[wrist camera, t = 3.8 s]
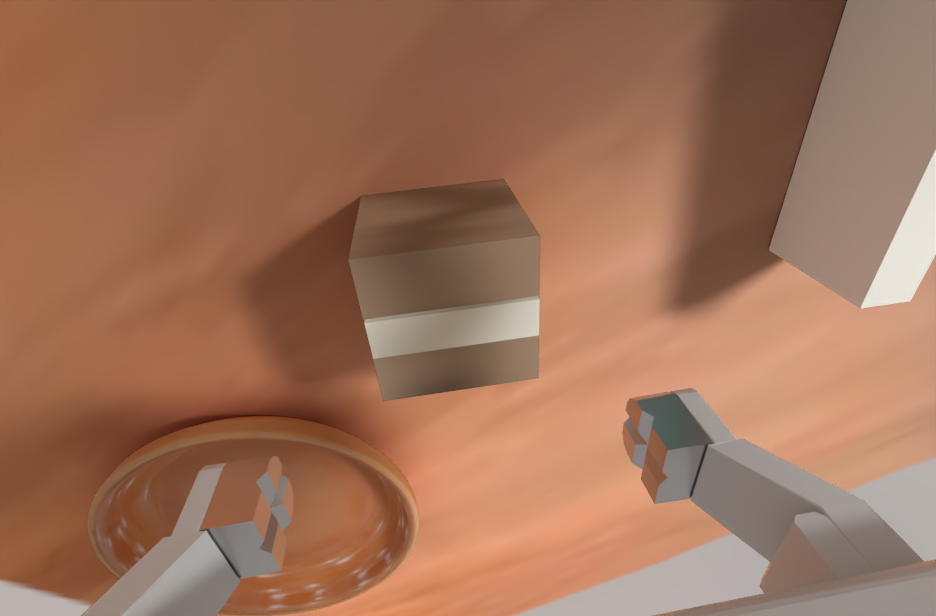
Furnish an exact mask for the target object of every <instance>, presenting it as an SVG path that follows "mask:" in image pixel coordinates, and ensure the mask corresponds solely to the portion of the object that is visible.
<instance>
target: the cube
mask: <svg viewBox="0 0 936 616" xmlns="http://www.w3.org/2000/svg"><path fill="white" fill-rule="evenodd" d="M348 261H349V265H350V269H351V273H352V277H353V281H354V285H355V289H356V293H357V297H358V301H359V305H360V309H361V313H362V317H363V321H364V325H365V329H366V333H367V338H368V342H369V346H370V350H371V354H372V358H373V362H374V366H375V370H376V374H377V378H378V382H379V386H380V390H381V394H382V398H383V401H388V400H394V399H401V398H408V397H415V396H421V395H428V394H435V393H442V392H448V391H455V390H462V389H469V388H475V387H482V386H489V385H496V384H503V383H509V382H516V381H523V380H530V379H536V378H538V376H539V280H540V235H539V233H538V232H537V230H536V229H535V227H534V226H533V224H532V222H531V221H530V219H529V218H528V216H527V215H526V213H525V212H524V210H523V208H522V207H521V205H520V204H519V202H518V201H517V199H516V198H515V196H514V194H513V193H512V191H511V190H510V188H509V187H508V185H507V184H506V182H505V180H504V179H500V180H492V181H483V182H475V183H466V184H458V185H449V186H441V187H432V188H424V189H415V190H407V191H398V192H390V193H381V194H373V195H364V196H361V199H360V204H359V209H358V214H357V219H356V224H355V229H354V234H353V239H352V244H351V249H350V254H349V258H348Z"/></svg>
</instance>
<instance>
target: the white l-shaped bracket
mask: <svg viewBox="0 0 936 616" xmlns="http://www.w3.org/2000/svg"><path fill="white" fill-rule="evenodd" d="M769 251H771V252H772V253H774V254H776V255H777V256H779V257H780V258H782V259H783V260H785V261H787V262H788V263H790V264H791V265H793V266H794V267H796V268H798V269H799V270H801V271H802V272H804V273H805V274H807V275H809V276H810V277H812V278H813V279H815V280H816V281H818V282H820V283H821V284H823V285H824V286H826V287H827V288H829V289H831V290H832V291H834V292H835V293H837V294H838V295H840V296H842V297H843V298H845V299H846V300H848V301H849V302H851V303H853V304H854V305H856V306H857V307H859V308H866V307H873V306H880V305H887V304H894V303H901V302H908V301H911V299H912V297H913V295H914V293H915V292H916V290H917V288H918V286H919V284H920V282H921V280H922V279H923V277H924V275H925V273H926V271H927V269H928V268H929V266H930V264H931V262H932V260H933V258H934V256H935V255H936V0H847V3H846V6H845V9H844V12H843V16H842V19H841V22H840V25H839V28H838V31H837V35H836V38H835V41H834V44H833V47H832V50H831V54H830V57H829V60H828V63H827V66H826V69H825V73H824V76H823V79H822V82H821V85H820V88H819V92H818V95H817V98H816V101H815V104H814V108H813V111H812V114H811V117H810V120H809V123H808V127H807V130H806V133H805V136H804V139H803V142H802V146H801V149H800V152H799V155H798V158H797V161H796V165H795V168H794V171H793V174H792V177H791V180H790V184H789V187H788V190H787V193H786V196H785V200H784V203H783V206H782V209H781V212H780V215H779V219H778V222H777V225H776V228H775V231H774V234H773V238H772V241H771V244H770V247H769Z"/></svg>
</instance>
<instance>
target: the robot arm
mask: <svg viewBox="0 0 936 616" xmlns="http://www.w3.org/2000/svg"><path fill="white" fill-rule="evenodd" d="M626 412H627V413H628V415H629V418H628V420H627V421H626V422H625V423H624V425H623V440H624V445H625V448H626V451H627V454H628V456H629V458H630V459H631V461H632V463H633V464H635V465H636V466H638V467H640V468H641V469H643V471H642V476H641V480H642V482H643V484H644V485H645V487H646V489H647V491H648V493H649V494H650V496H651V498H652V500H653V502H654V504H657V503H664V502H671V501H677V500H684V499H691V501H692V502H693V503H695V504H696V505H697V506H699V507H700V508H701V509H702V510H704V511H705V512H706V513H708V514H709V515H710V516H711V517H713V518H714V519H715V520H717V521H718V522H719V523H721V524H722V525H723V526H724V527H726V528H727V529H728V530H730V531H731V532H732V533H733V534H735V535H736V536H737V537H739V538H740V539H741V540H743V541H744V542H745V543H746V544H748V545H749V546H750V547H752V548H753V549H754V550H755V551H757V552H758V553H759V554H761V555H762V556H763V557H764V558H766V559H767V560H768V561H770V564H769V566H768V568H767V570H766V572H765V574H764V576H763V578H762V580H761V583H760V588H761V589H762V591H763V592H764V594H759V595H754V596H750V597H744V598H739V599H734V600H729V601H724V602H719V603H714V604H709V605H704V606H699V607H693V608H689V609H683V610H678V611H673V612H668V613H663V614H658V615H653V616H936V560H931V561H926V562H924V561H923V560H922V559H921V558H920V557H919V556H918V555H917V554H916V553H915V552H914V551H913V550H912V549H911V548H910V547H909V546H908V545H907V543H906V542H905V541H903V539H902V538H901V537H900V536H899V535H898V534H897V533H895V531H894V530H893V529H892V528H891V527H890V526H889V525H888V524H887V523H886V522H885V521H884V520H883V519H882V518H881V517H880V516H879V515H878V514H877V513H876V512H875V511H874V510H873V509H872V508H871V507H870V506H869V505H868V504H867V503H866V502H865V501H864V500H862V499H860V498H858V497H856V496H854V495H852V494H850V493H849V492H847V491H845V490H843V489H841V488H839V487H837V486H835V485H833V484H831V483H829V482H827V481H825V480H823V479H821V478H819V477H817V476H815V475H813V474H811V473H809V472H807V471H805V470H804V469H802V468H800V467H798V466H796V465H794V464H792V463H790V462H788V461H786V460H784V459H782V458H780V457H778V456H776V455H774V454H772V453H770V452H768V451H766V450H764V449H762V448H760V447H759V446H757V445H755V444H753V443H751V442H749V441H747V440H745V439H739V440H737V439H736V438H735V436H734V435H733V434H732V433H731V432H730V430H729V429H728V428H727V427H726V426H725V424H724V423H723V422H722V421H721V420H720V418H719V417H718V416H717V415H716V414H715V412H714V411H713V410H712V409H711V408H710V406H709V405H708V404H707V403H706V402H705V400H704V399H703V398H702V397H701V396H700V394H699V393H698V392H697V391H696V390H694V389H692V388H689V389H683V390H677V391H671V392H664V393H658V394H652V395H646V396H641V397H635V398H630V399H629V400H628V402H627V406H626ZM281 470H282V464H281V462H280V460H279V458H278V456H270V457H262V458H255V459H247V460H240V461H233V462H227V463H220V464H213V465H206V466H204V467H203V468H202V469H201V470H200V471H199V473H198V475H197V477H196V480H195V482H194V484H193V487H192V489H191V491H190V493H189V496H188V498H187V500H186V503H185V505H184V507H183V510H182V512H181V514H180V516H179V519H178V521H177V523H176V526H175V528H174V530H173V533H172V535H171V536H169V537H164V538H163V539H162V540H160V541H159V542H158V543H157V544H156V545H155V546H154V547H153V548H152V549H151V550H150V551H149V552H148V553H147V554H146V555H145V556H144V557H143V558H141V559H140V560H139V561H138V562H137V563H136V564H135V565H134V566H133V567H132V568H131V569H130V570H129V571H128V572H127V573H126V574H125V575H124V576H122V577H121V578H120V579H119V580H118V581H117V582H116V583H115V584H114V585H113V586H112V587H111V588H110V589H109V590H108V591H107V592H106V593H104V594H103V595H102V596H101V597H100V598H99V599H98V600H97V601H96V602H95V603H94V604H93V605H92V606H91V607H90V608H89V609H88V610H87V611H85V612H84V613H83V614H82V615H81V616H216V615H217V614H218V613H219V611H220V610H221V608H222V607H223V606H224V604H225V603H226V601H227V600H228V599H229V597H230V596H231V594H232V593H233V592H234V590H235V589H236V587H237V586H238V585H239V583H240V579H244V578H248V577H253V576H258V575H263V574H268V573H272V572H277V571H281V569H282V564H283V559H284V554H285V550H286V545H287V539H286V537H285V535H284V533H283V530H284V529H285V528H286V527H287V526H288V524H289V523H290V522H291V520H292V515H293V509H294V495H293V490H292V486H291V483H290V481H289V479H288V478H286V477H284V476H283V475H281Z"/></svg>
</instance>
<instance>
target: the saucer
mask: <svg viewBox="0 0 936 616" xmlns="http://www.w3.org/2000/svg"><path fill="white" fill-rule="evenodd" d="M270 456H278V458H279V460H280V462H281V464H282V470H281V475H283V476H284V477H286V478H288V479H289V481H290V483H291V486H292V490H293V495H294V509H293V515H292V520H291V522H290V523H289V524H288V526H287V527H286V528H285V529H284V530H283V533H284V535H285V537H286V539H287V545H286V550H285V554H284V559H283V564H282V569H281V571H277V572H272V573H268V574H263V575H258V576H253V577H248V578H244V579H240V583H239V585H238V586H237V587H236V589H235V590H234V592H233V593H232V594H231V596H230V597H229V599H228V600H227V601H226V603H225V604H224V606H223V607H222V608H221V610H220V611H219V613H218V614H225V615H237V616H272V615H285V614H293V613H300V612H306V611H312V610H316V609H320V608H324V607H328V606H332V605H335V604H338V603H341V602H344V601H346V600H349V599H351V598H354V597H356V596H359V595H361V594H363V593H365V592H367V591H369V590H370V589H372V588H374V587H376V586H377V585H379V584H380V583H382V582H383V581H384V580H386V579H387V578H388V577H390V576H391V575H392V574H393V573H394V572H395V571H396V570H397V569H398V568H399V567H400V566H401V565H402V564H403V563H404V562H405V560H406V559H407V558H408V556H409V555H410V553H411V551H412V549H413V547H414V545H415V542H416V539H417V535H418V529H419V515H418V509H417V505H416V500H415V496H414V493H413V490H412V488H411V486H410V484H409V482H408V480H407V479H406V477H405V476H404V474H403V473H402V472H401V471H400V469H399V468H398V467H397V466H396V465H395V464H394V463H393V462H392V461H391V460H390V459H388V458H387V457H386V456H385V455H384V454H382V453H381V452H379V451H378V450H377V449H375V448H373V447H372V446H370V445H369V444H367V443H366V442H364V441H362V440H360V439H359V438H357V437H355V436H353V435H351V434H348V433H346V432H344V431H341V430H339V429H336V428H333V427H330V426H327V425H324V424H320V423H316V422H312V421H308V420H303V419H297V418H289V417H277V416H248V417H236V418H228V419H221V420H216V421H211V422H207V423H203V424H199V425H195V426H191V427H188V428H184V429H181V430H178V431H175V432H173V433H170V434H168V435H165V436H163V437H160V438H158V439H156V440H154V441H152V442H150V443H148V444H147V445H145V446H143V447H141V448H140V449H138V450H136V451H135V452H134V453H132V454H131V455H129V456H128V457H127V458H126V459H125V460H124V461H122V462H121V463H120V464H119V465H118V466H117V467H116V469H115V470H114V471H113V472H112V473H111V474H110V475H109V477H108V478H107V479H106V480H105V481H104V483H103V484H102V485H101V486H100V488H99V489H98V491H97V493H96V494H95V496H94V498H93V500H92V502H91V505H90V508H89V511H88V516H87V532H88V537H89V540H90V543H91V545H92V548H93V550H94V551H95V553H96V555H97V556H98V558H99V559H100V560H101V562H102V563H103V564H104V565H105V566H106V567H107V568H108V569H109V570H110V571H111V572H112V573H113V574H114V575H116V576H117V577H118V578H119V579H120V578H121V577H122V576H124V575H125V574H126V573H127V572H128V571H129V570H130V569H131V568H132V567H133V566H134V565H135V564H136V563H137V562H138V561H139V560H140V559H141V558H143V557H144V556H145V555H146V554H147V553H148V552H149V551H150V550H151V549H152V548H153V547H154V546H155V545H156V544H157V543H158V542H159V541H160V540H162V539H163V538H164V537H169V536H171V535H172V533H173V530H174V528H175V526H176V523H177V521H178V519H179V516H180V514H181V512H182V510H183V507H184V505H185V503H186V500H187V498H188V496H189V493H190V491H191V489H192V487H193V484H194V482H195V480H196V477H197V475H198V473H199V471H200V470H201V469H202V468H203V467H204V466H206V465H213V464H220V463H227V462H233V461H240V460H247V459H255V458H262V457H270Z"/></svg>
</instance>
